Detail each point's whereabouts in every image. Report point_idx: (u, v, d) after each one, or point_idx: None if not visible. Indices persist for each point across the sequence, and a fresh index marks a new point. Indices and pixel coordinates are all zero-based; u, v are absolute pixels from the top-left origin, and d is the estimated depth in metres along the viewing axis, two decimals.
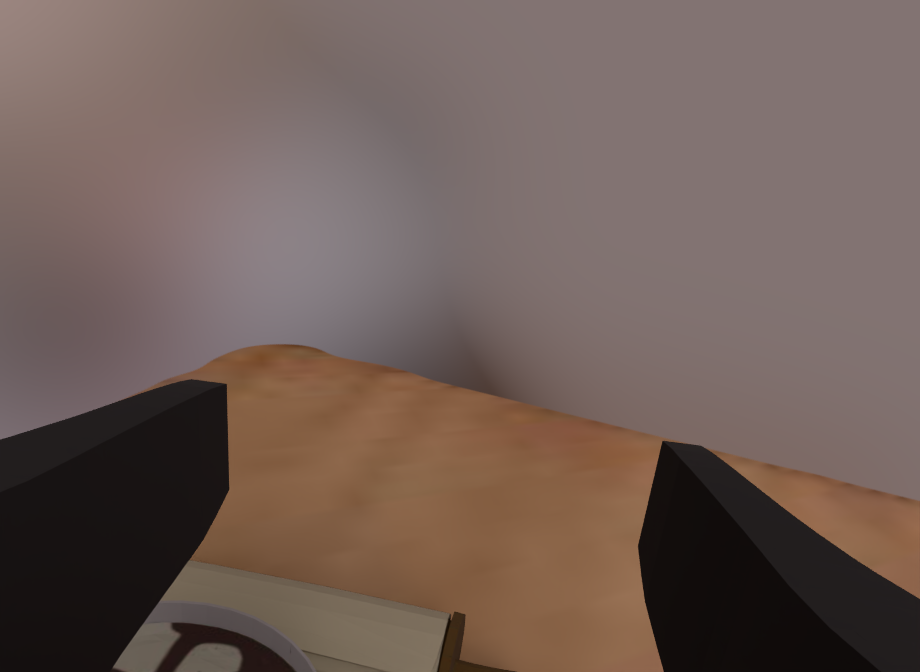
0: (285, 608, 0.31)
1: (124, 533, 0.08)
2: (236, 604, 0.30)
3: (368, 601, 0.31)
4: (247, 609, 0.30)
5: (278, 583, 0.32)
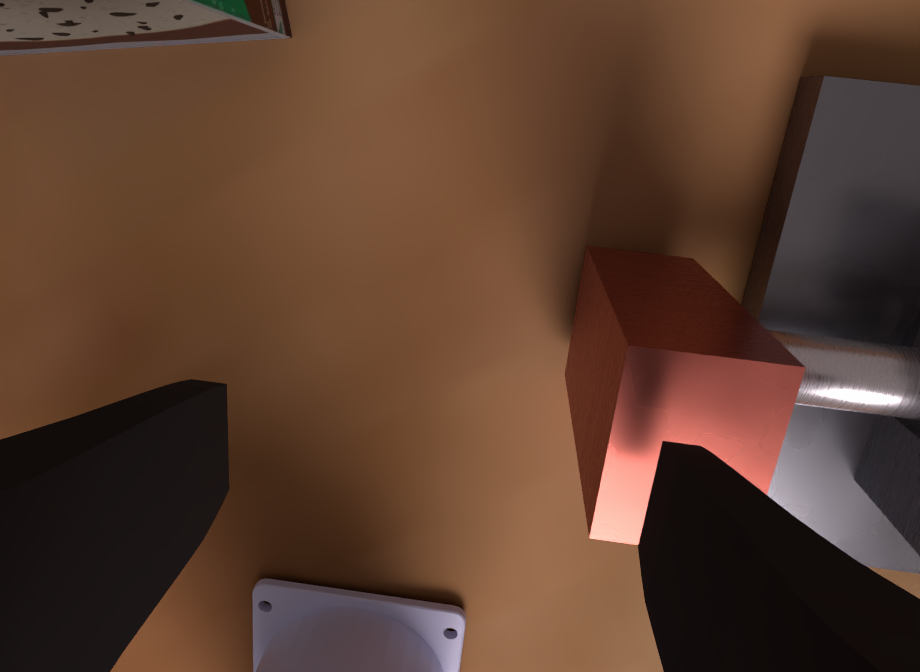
0: None
1: (124, 533, 0.08)
2: None
3: None
4: None
5: None
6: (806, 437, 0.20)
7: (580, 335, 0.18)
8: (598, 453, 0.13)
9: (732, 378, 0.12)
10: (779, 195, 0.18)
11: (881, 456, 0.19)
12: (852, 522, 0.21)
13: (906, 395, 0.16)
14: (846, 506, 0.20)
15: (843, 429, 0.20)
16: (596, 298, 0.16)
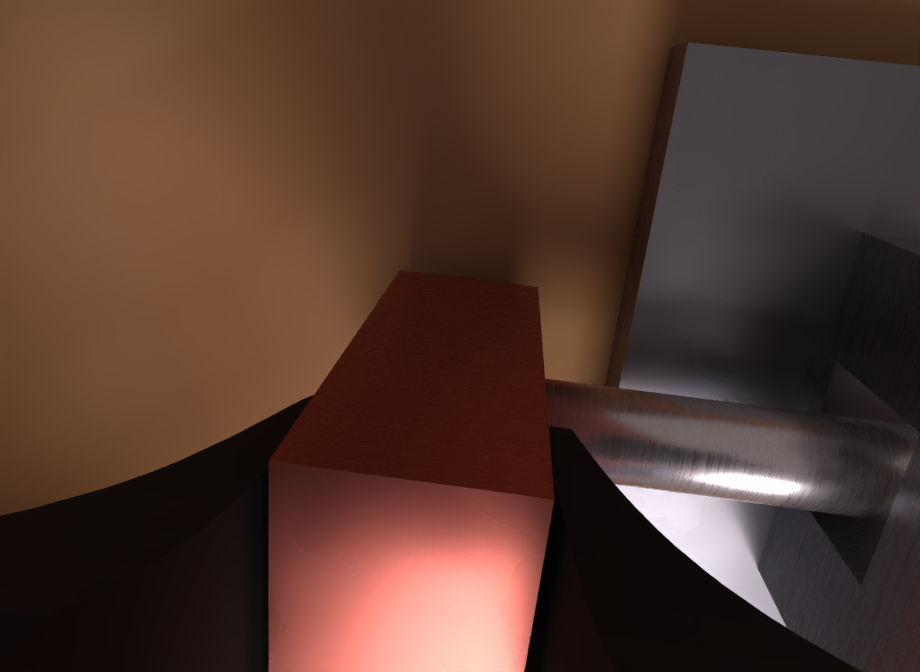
0: None
1: None
2: None
3: None
4: None
5: None
6: (694, 516, 0.15)
7: None
8: None
9: (440, 515, 0.07)
10: (646, 205, 0.14)
11: (785, 546, 0.14)
12: None
13: (797, 483, 0.12)
14: (750, 601, 0.16)
15: (741, 507, 0.15)
16: None
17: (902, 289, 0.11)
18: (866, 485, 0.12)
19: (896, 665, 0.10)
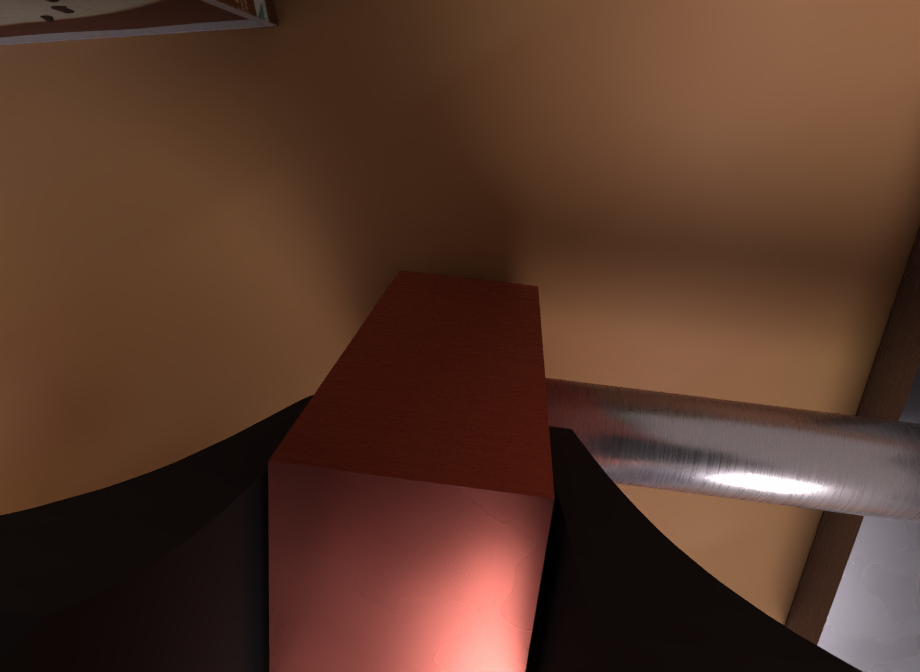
0: None
1: None
2: None
3: None
4: None
5: None
6: None
7: None
8: None
9: (440, 513, 0.07)
10: None
11: None
12: None
13: (798, 482, 0.12)
14: None
15: None
16: None
17: None
18: (868, 483, 0.12)
19: None
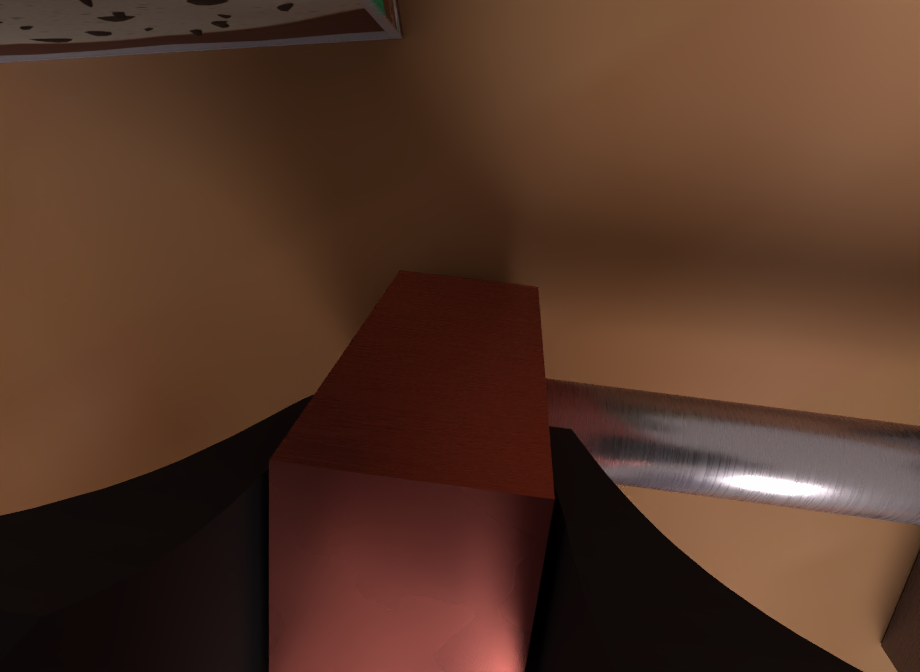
0: None
1: None
2: None
3: None
4: None
5: None
6: None
7: None
8: None
9: (440, 515, 0.07)
10: None
11: None
12: None
13: (797, 483, 0.12)
14: None
15: None
16: None
17: None
18: (866, 486, 0.12)
19: None
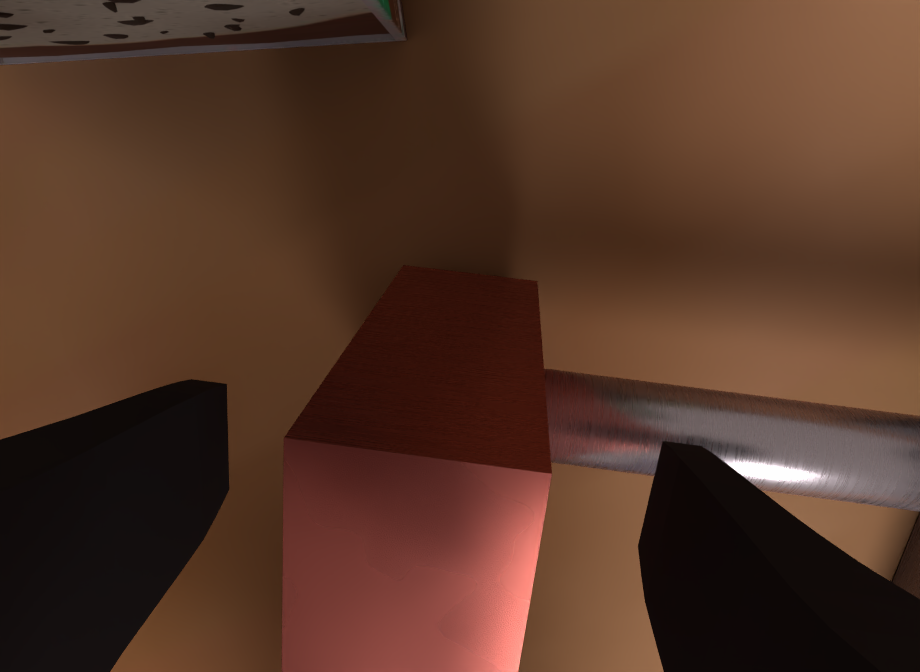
0: None
1: (124, 533, 0.08)
2: None
3: None
4: None
5: None
6: None
7: None
8: None
9: (444, 488, 0.08)
10: None
11: None
12: None
13: (786, 468, 0.12)
14: None
15: None
16: None
17: None
18: (853, 470, 0.12)
19: None
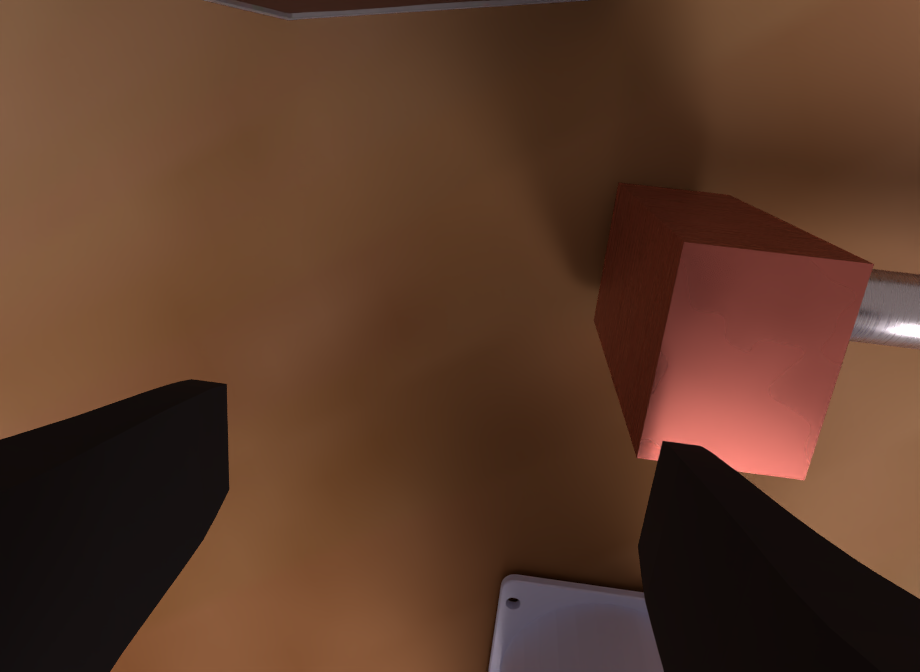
0: None
1: (124, 533, 0.08)
2: None
3: None
4: None
5: None
6: None
7: (614, 271, 0.17)
8: (645, 369, 0.12)
9: (793, 278, 0.11)
10: None
11: None
12: None
13: None
14: None
15: None
16: (635, 223, 0.15)
17: None
18: None
19: None
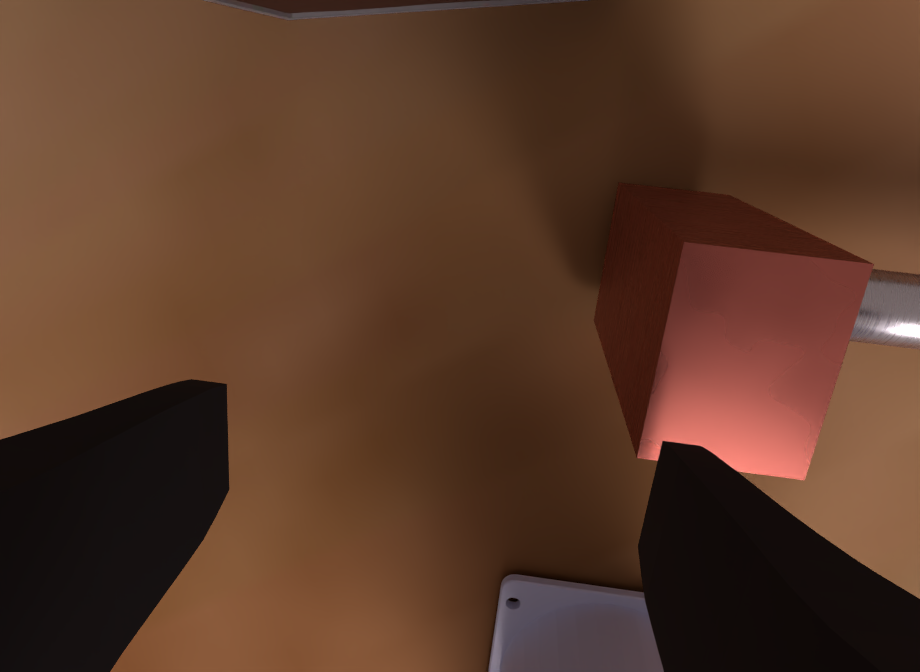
0: None
1: (124, 533, 0.08)
2: None
3: None
4: None
5: None
6: None
7: (614, 271, 0.17)
8: (645, 369, 0.12)
9: (793, 278, 0.11)
10: None
11: None
12: None
13: None
14: None
15: None
16: (635, 223, 0.15)
17: None
18: None
19: None
